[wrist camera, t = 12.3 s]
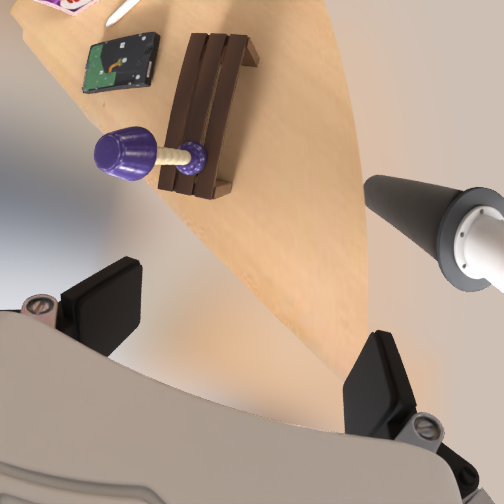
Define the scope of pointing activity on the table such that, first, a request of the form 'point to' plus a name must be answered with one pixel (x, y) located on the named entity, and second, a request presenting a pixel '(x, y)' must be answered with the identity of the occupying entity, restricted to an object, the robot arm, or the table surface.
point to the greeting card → (69, 5)
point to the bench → (205, 108)
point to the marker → (121, 12)
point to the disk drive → (121, 63)
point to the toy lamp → (144, 154)
